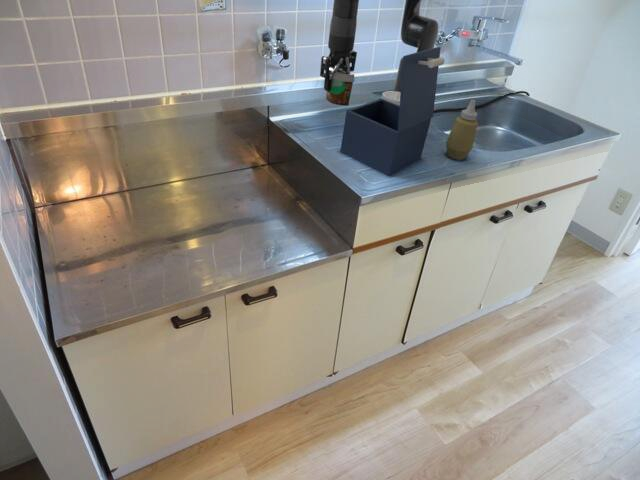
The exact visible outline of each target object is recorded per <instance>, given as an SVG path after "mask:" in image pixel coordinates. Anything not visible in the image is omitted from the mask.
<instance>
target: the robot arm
mask: <svg viewBox="0 0 640 480" xmlns="http://www.w3.org/2000/svg"><path fill="white" fill-rule="evenodd" d="M422 1H423V0H405V4H404V8H403V9H404V10H403V16H402V21H401V28H400V38H401V41H402V43H403V44H405V45H407V46H410V47H414V48H416V52H415V53H417V52H420V51H424V50H428V49H432V48H435V45H436V41H437V38H438V35H439V29H440V28H439V23H438V21H437V20H436V19H434V18H431V17H427V16H423V15H421V14H420V11H421V5H422ZM359 4H360V0H333V4H332V5H333V6H332V15H331V19H330V25H329V34H328V42H327V43H328V44H327V48H328V49H329V54H328V56H325V55H322V56H321V60H320V71H319V76H320V77H322V78H323V79H324V80H323V81H324V83H323V90H324V91H326V92H327V91H328V92H329V91H331V86H332V78H333V75H334V73H336V72H337V70H338V69H340V68H343V69H345V70H346V71H347V72H348V73H349V74H351V73H353V72H354V71H355V67H356V61H357V55H358V52H357V51H355V50H354V48H355V39H356V32H357V25H358V24H357V20H358V12H359ZM331 66H332V67H333V68H334V69H332V68H330V67H331ZM402 68H403V57H401V58H400V61H399V65H398V70H397V74H396V75H397V76H396V80H395V84H394V89H393V91H397V92H401V82H402ZM330 71H331V73H330V75H329V72H330ZM515 92H516V93H510V92H508V93H509V94H506V93H505V94H506V95H504V94H503V95H504V96H501V95H499V96H497V97H495V98H493V99H491V100H488V101H486V102H484V103H483V102H482V103H480V104H477V105H476V104H475V109H477V108H481V107H484V106H486V105H489V104H491V103H493V102H496V101H497V100H500V99H502V98H505V97H507V96H509V95H510V96H512V95H519V94H524V95H526V96H527V97H530V96H531V95H530V93H529V92H528V91H525V90H519V91H515ZM467 107H468V106H466V107H465V106H464V107H454V108H453V107H451V108H447V107H446V108H437V109H434V112H433V114H435V113H439V112H454V111H455V112H456V111H462V110H465V109H467Z"/></svg>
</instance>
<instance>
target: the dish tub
mask: <svg viewBox="0 0 640 480" xmlns="http://www.w3.org/2000/svg"><path fill="white" fill-rule="evenodd" d="M399 109H400V106H399V105H396V104H394V103H391V102H389V101H386V100H384V99H381V98H378V99H375V100H372V101H370V102H367V103H364V104H361V105H358V106H356V107H352V108H349V109H346V111H345V116H344V117H345V119H344V124H343V130H342V131H343V132H342V139H341V145H340V149H339V150H340V151H339V152H340V153H342V154H344V155H345V156H347V157H350V158H352V159H354V160H355V161H358V162H360V163H362V164H363V165H366V166H368V167H370V168H372V169H374V170H376V171H378V172H380V173H382V174H384V175H385V176H391V175H393V174H395V173H398V172H399V171H400V170H403V169H404V168H406V167H408V166H410V165H412V164H414V163H415V162H417V161H419V160H421V158H422V156H423V155H422V154H423V151H424V147H425V143H426V139H427V135H428V132H429V128H430V125H431V121H432V118H430V119H428V120H426V121H424V122H421V123H419V124H417V125H415V126H412V127H410V128H408V129H406V130H403V131H401V132H398V122H399Z"/></svg>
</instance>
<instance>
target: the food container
mask: <svg viewBox="0 0 640 480" xmlns="http://www.w3.org/2000/svg"><path fill="white" fill-rule="evenodd" d="M330 68H332V69H334V68H333V67H332V66H331V67H330ZM330 73H331V71H330V72H329V75H330ZM354 83H355V74H353V73H352V74H351V73H350V74H349V73H348V72H347V71H346V70H345V69H343V68H340V69H338V70H337V72H336V73H334V75H333V78H332V86H331V91H329V92H328V91H326V93H325V94H326V96H325V97H326V100H327V102H329V103H330V104H334V105H338V106H346V107H347V106H349V103H350V99H351V94H352V90H353V84H354Z"/></svg>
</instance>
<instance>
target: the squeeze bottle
mask: <svg viewBox="0 0 640 480" xmlns="http://www.w3.org/2000/svg"><path fill="white" fill-rule="evenodd" d="M475 106H476V100H475V99H471V100H470V102H469V104H468V106H466V107H467V109H465V110H461V112H460V115H459V116H457V117H455V120H454V122H453V125H452V127H451V129H450V132H449V135H448V137H447V139H446V141H445V146H446V155H447V156H448V157H449V158H451V159H453V160H457V161H458V160H459V161H463V160H465V159H466V158H467V157H468V156H469V154H470V153H471V152H472V150H473V147H474V142H475V137H476V133H477V129H478V124H479V122H478V120H477V117H478V112H476V108H475Z"/></svg>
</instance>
